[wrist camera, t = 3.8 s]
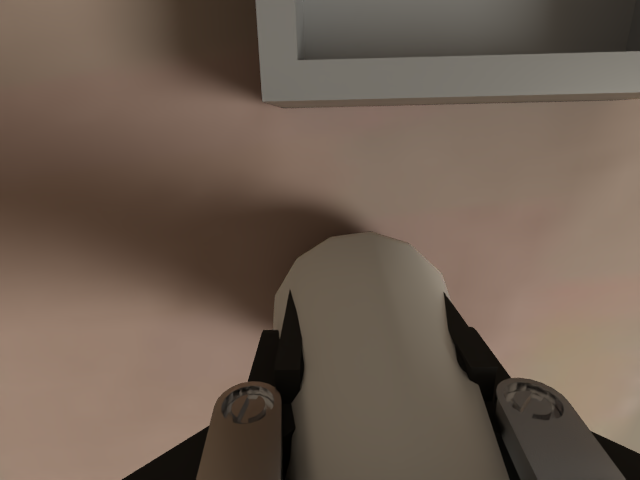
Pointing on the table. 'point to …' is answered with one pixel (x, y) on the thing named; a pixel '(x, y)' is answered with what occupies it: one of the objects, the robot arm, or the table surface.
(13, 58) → the table surface
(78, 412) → the table surface
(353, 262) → the salt shaker
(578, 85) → the tray
